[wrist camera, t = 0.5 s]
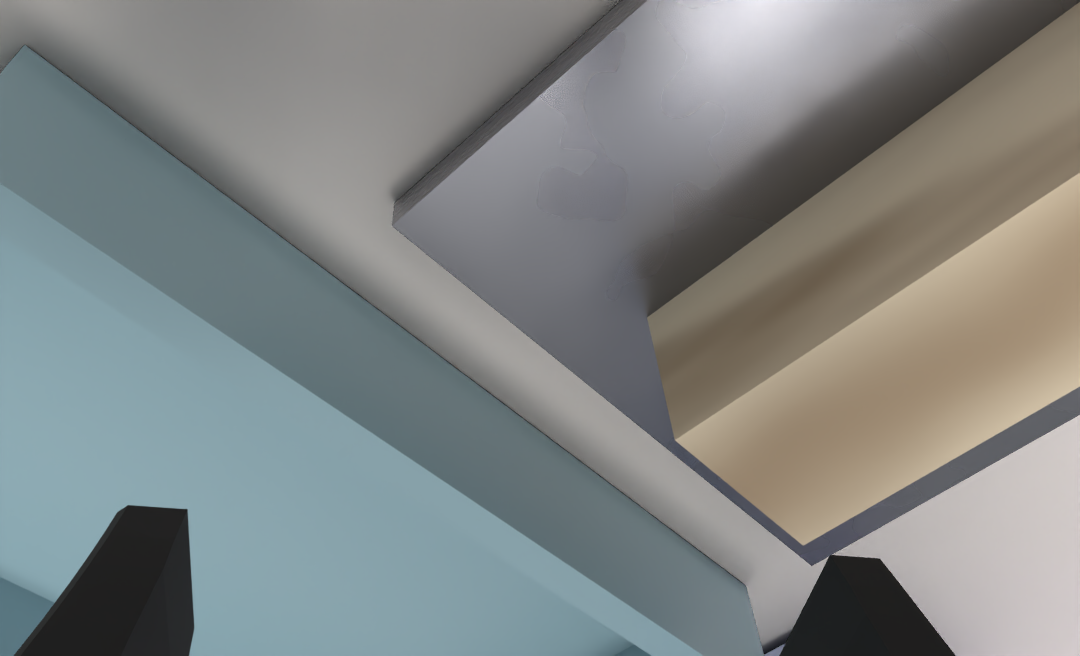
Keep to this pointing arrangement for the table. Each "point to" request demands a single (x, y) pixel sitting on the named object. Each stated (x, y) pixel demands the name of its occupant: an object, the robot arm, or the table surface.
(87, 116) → the bin
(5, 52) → the table surface
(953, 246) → the strut
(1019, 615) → the table surface
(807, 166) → the stud plate
